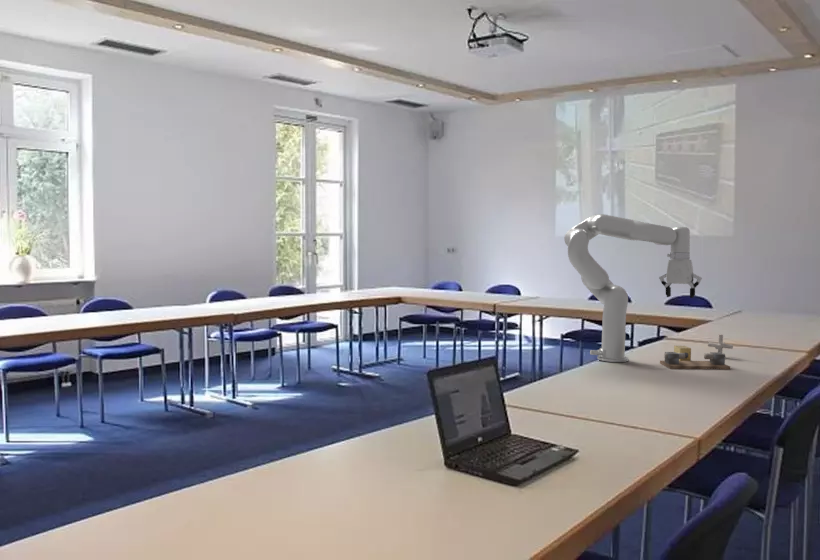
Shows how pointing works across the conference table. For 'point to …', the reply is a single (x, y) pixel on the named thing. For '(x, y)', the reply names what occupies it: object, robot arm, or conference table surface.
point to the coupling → (683, 350)
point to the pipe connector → (720, 344)
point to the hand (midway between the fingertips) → (680, 297)
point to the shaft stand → (715, 361)
